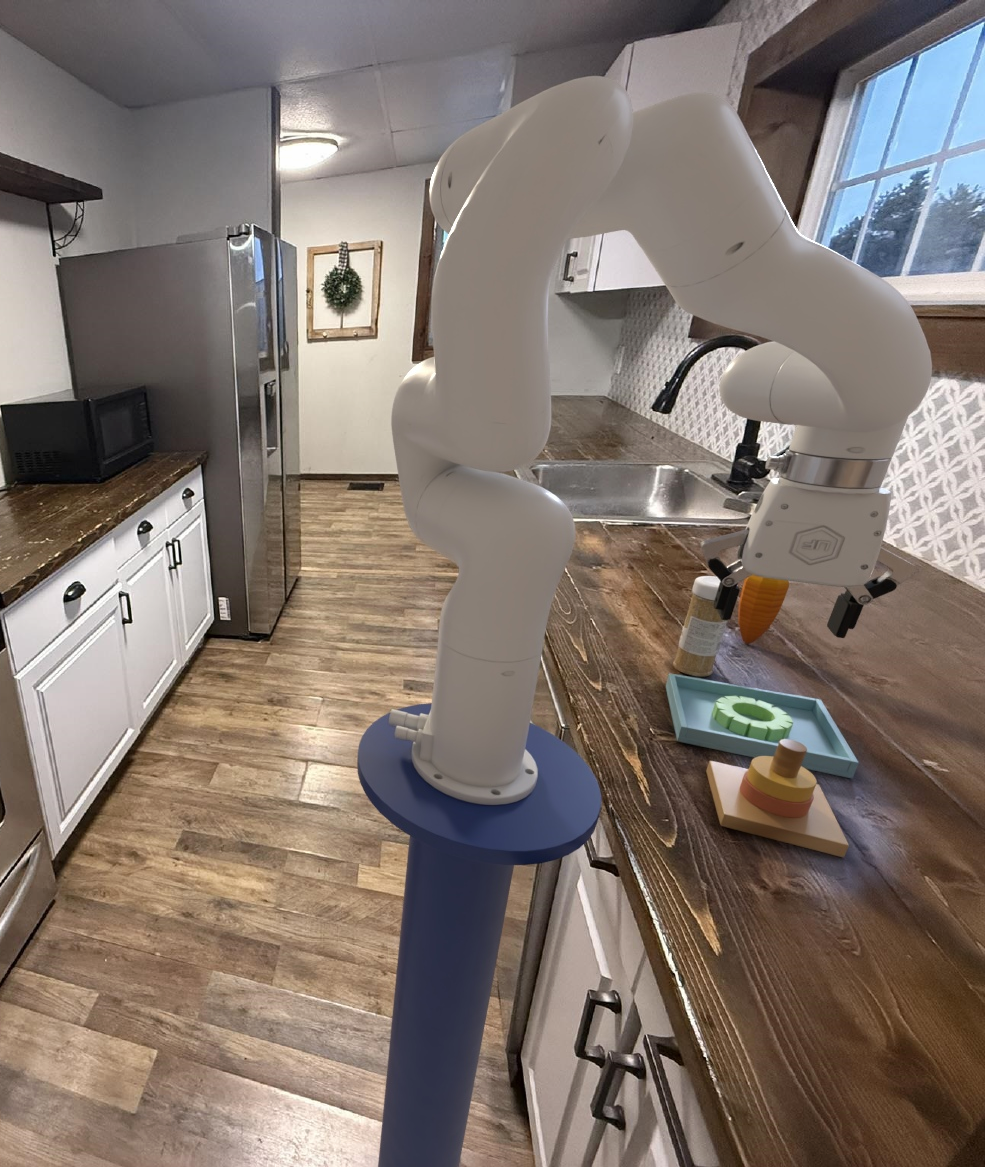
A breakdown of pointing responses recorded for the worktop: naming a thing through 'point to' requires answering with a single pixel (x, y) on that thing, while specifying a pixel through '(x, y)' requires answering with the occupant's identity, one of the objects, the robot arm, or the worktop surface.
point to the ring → (770, 730)
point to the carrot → (759, 605)
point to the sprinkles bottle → (701, 630)
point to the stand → (777, 800)
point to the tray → (808, 715)
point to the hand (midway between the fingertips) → (777, 624)
